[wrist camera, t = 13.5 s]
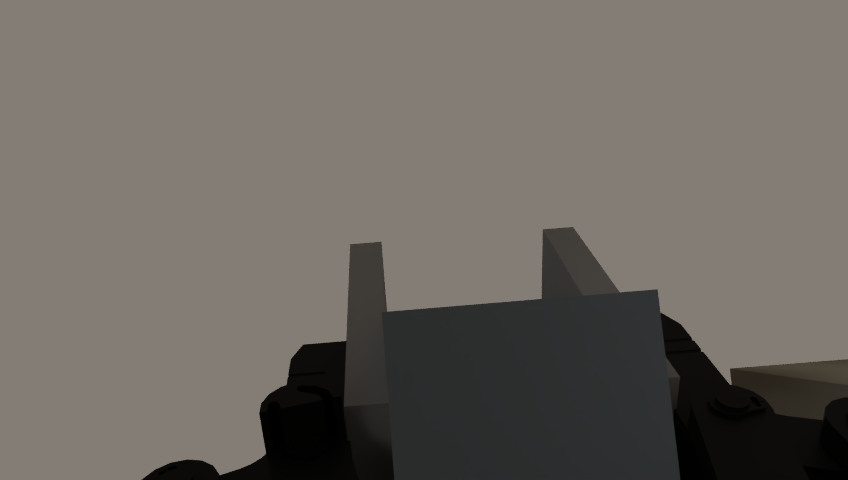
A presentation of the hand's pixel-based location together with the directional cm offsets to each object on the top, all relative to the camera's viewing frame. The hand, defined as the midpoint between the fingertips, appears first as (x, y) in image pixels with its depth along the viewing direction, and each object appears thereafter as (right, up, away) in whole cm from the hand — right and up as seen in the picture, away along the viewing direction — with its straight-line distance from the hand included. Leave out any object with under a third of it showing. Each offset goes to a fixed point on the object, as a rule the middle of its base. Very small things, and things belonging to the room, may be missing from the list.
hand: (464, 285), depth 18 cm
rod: (0, -5, +4) cm, 6 cm away
